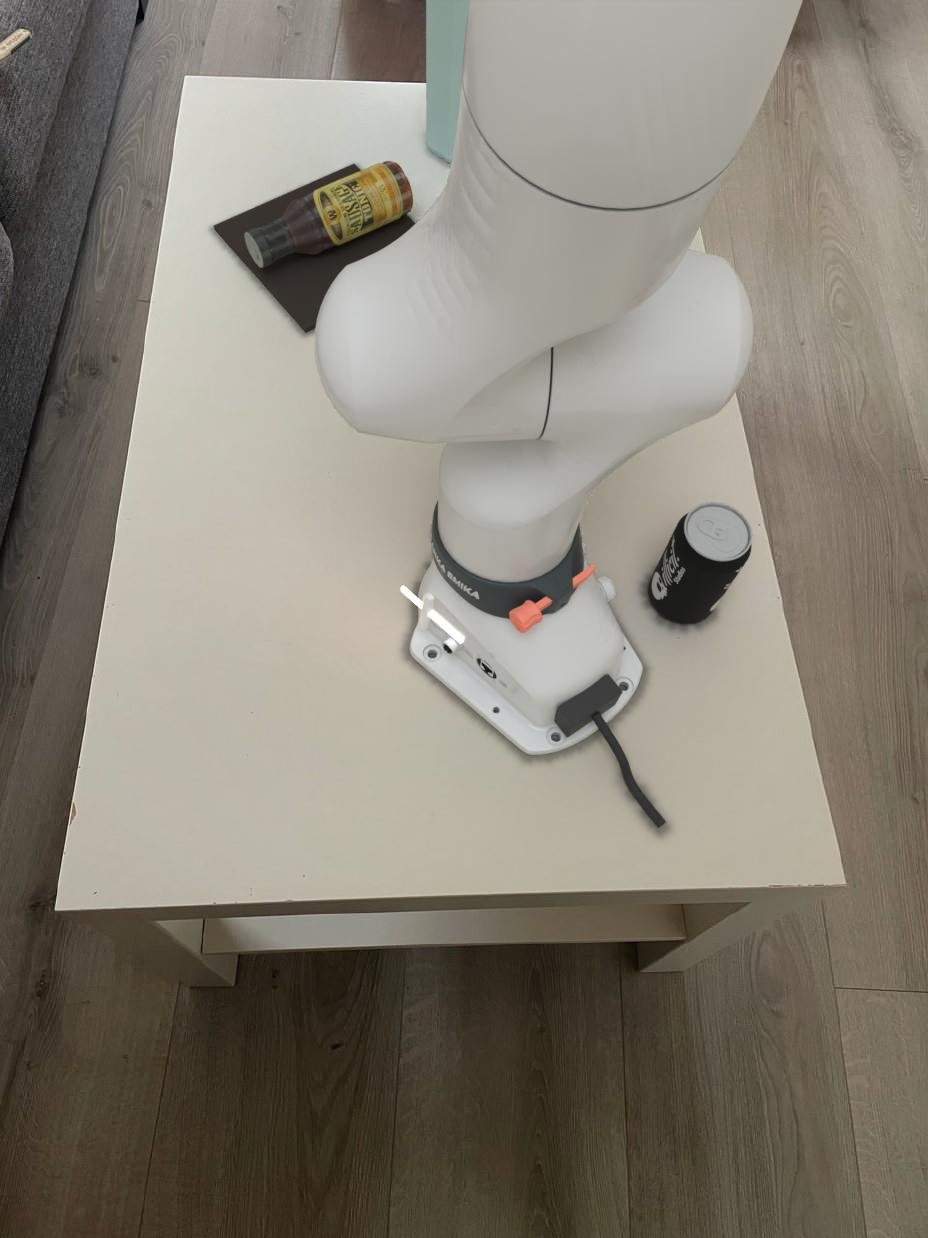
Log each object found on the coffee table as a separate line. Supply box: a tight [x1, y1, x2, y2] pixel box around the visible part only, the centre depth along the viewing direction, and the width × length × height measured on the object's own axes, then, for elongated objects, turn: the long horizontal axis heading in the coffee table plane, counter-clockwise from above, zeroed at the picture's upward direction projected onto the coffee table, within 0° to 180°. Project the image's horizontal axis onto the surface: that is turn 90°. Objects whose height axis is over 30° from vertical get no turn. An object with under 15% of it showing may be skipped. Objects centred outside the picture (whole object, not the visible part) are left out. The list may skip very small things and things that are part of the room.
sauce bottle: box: [244, 160, 414, 268], centre depth 98 cm, size 6×6×20 cm
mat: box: [213, 163, 417, 333], centre depth 101 cm, size 20×20×1 cm
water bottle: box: [425, 0, 470, 165], centre depth 99 cm, size 10×10×25 cm
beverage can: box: [647, 501, 754, 625], centre depth 76 cm, size 7×7×12 cm
